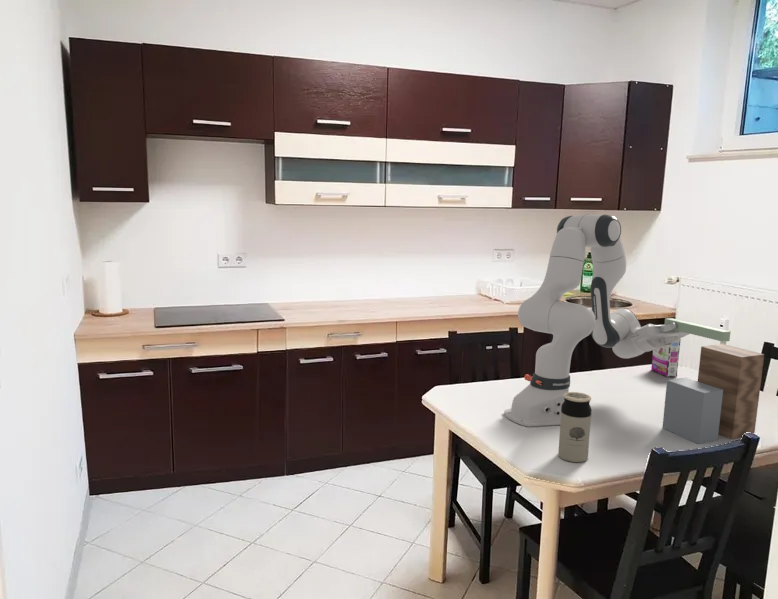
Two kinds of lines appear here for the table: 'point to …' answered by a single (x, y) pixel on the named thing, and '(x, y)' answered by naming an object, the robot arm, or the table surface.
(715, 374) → the walnut stand
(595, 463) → the table surface
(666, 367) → the candy bar box
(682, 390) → the grey pedestal
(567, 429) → the travel mug
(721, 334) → the rail
